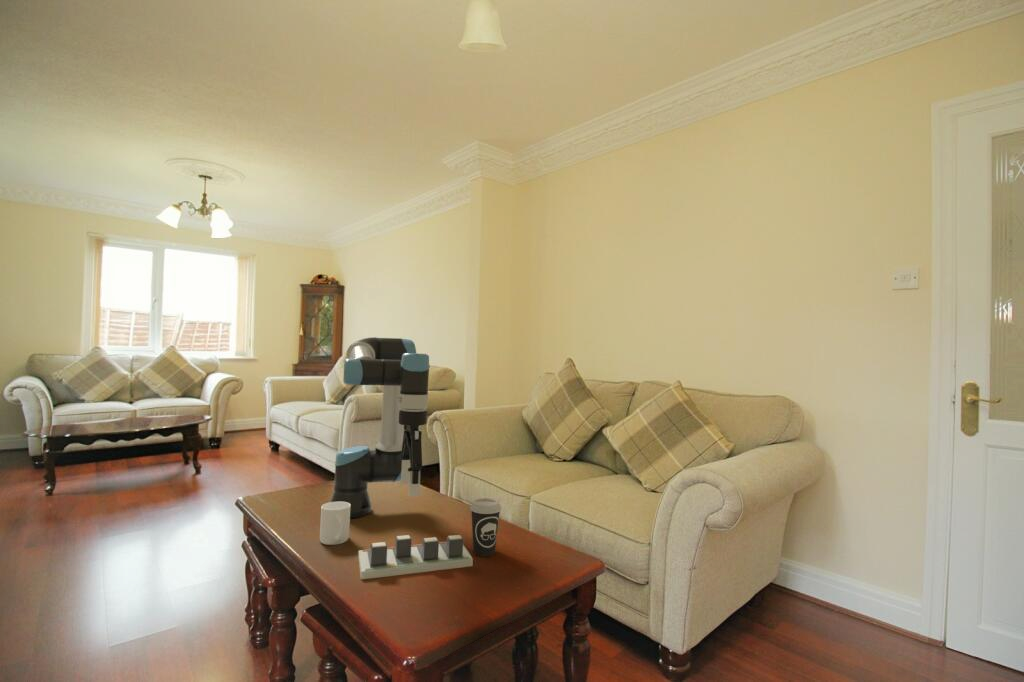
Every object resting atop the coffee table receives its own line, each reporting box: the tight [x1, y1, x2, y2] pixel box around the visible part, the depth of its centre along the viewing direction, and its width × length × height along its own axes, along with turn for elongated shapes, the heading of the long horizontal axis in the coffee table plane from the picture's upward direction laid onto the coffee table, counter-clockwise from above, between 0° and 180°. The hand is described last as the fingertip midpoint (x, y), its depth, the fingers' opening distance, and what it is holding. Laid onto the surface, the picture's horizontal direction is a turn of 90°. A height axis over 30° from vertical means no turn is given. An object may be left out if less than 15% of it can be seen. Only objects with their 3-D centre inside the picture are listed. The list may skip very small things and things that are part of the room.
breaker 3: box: [421, 536, 440, 559], centre depth 133 cm, size 3×4×5 cm
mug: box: [319, 501, 351, 546], centre depth 147 cm, size 9×12×11 cm
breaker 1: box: [370, 541, 388, 565], centre depth 129 cm, size 3×4×5 cm
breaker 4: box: [446, 534, 464, 557], centre depth 136 cm, size 3×4×5 cm
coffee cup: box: [469, 497, 502, 557], centre depth 144 cm, size 10×10×15 cm
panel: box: [357, 540, 474, 580], centre depth 135 cm, size 14×30×2 cm, turn 111°
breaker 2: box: [394, 534, 412, 557], centre depth 134 cm, size 3×4×5 cm
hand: (409, 489), depth 129 cm, fingers open, 12 cm apart
